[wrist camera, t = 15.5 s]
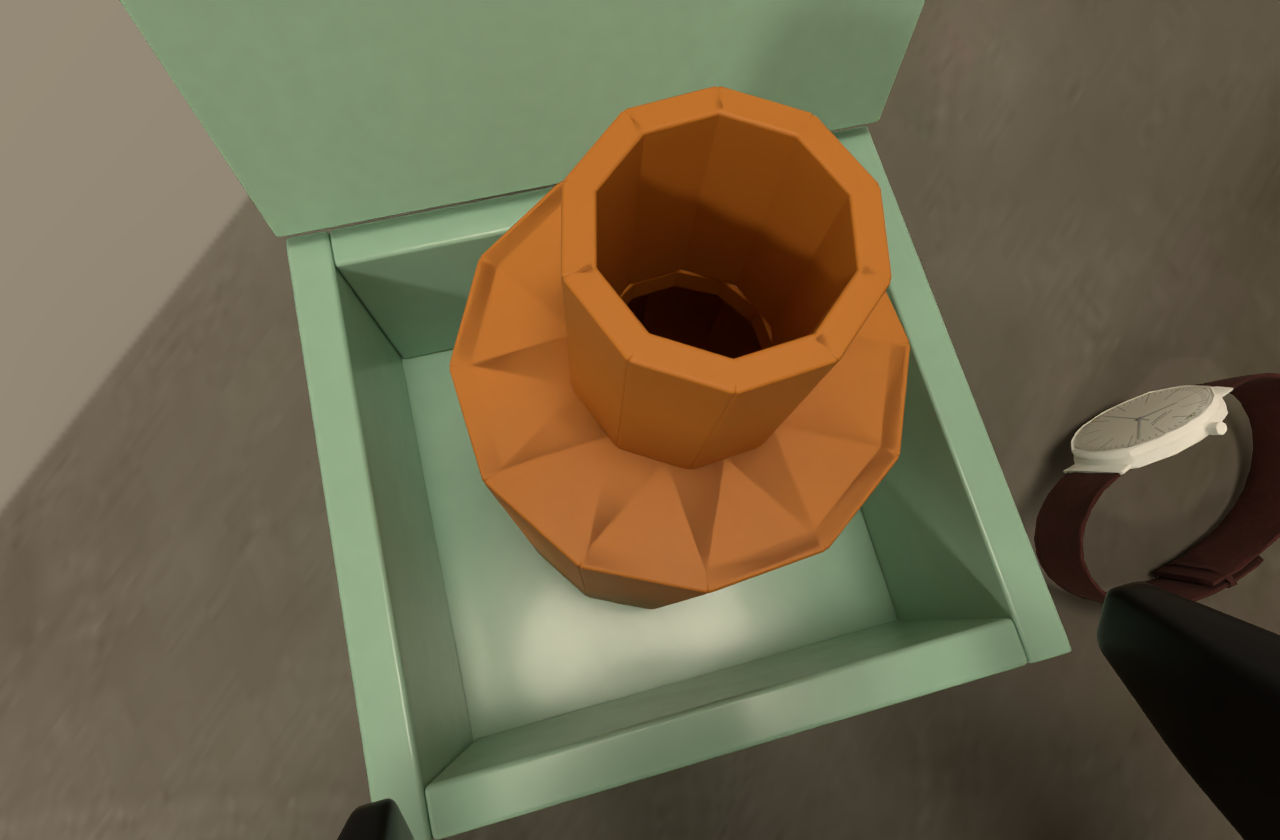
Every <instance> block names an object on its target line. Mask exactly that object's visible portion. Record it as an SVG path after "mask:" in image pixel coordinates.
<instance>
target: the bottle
mask: <svg viewBox="0 0 1280 840" xmlns="http://www.w3.org/2000/svg"><path fill="white" fill-rule="evenodd" d="M891 277H892V275H891V267H890V259H889V251H888V243H887V235H886V227H885V219H884V211H883V203H882V195H881V188H880V187H879V184H878V182H877V181H876V180H875V179H874V178H873V177H872V176H871V175H870V174H869V173H868V172H867V171H866V169H865V168H864V167H863V166H862V165H861V164H860V163H859V162H858V161H857V160H856V159H855V157H854V156H853V155H852V154H851V153H850V152H849V151H848V150H847V149H846V148H845V147H844V146H843V144H842V143H841V142H840V141H839V140H838V139H837V138H836V137H835V136H834V135H833V134H832V133H831V131H830V130H829V129H828V128H827V127H826V126H825V125H824V124H823V123H822V122H821V121H820V120H819V118H818V117H817V116H815V115H812V113H810V112H807V111H804V110H800V109H797V108H793V107H790V106H787V105H783V104H780V103H776V102H773V101H770V100H766V99H763V98H759V97H756V96H753V95H749V94H746V93H742V92H739V91H736V90H732V89H729V88H725V87H722V86H719V87H717V86H713V87H709V88H705V89H702V90H698V91H694V92H690V93H686V94H682V95H678V96H674V97H670V98H667V99H663V100H659V101H655V102H651V103H647V104H643V105H639V106H635V107H631V108H628V109H626V110H625V111H622V112H621V113H620V114H619V115H618V117H617V118H616V119H615V120H614V121H613V122H612V124H611V125H610V126H609V127H608V128H607V130H606V131H605V132H604V133H603V134H602V135H601V137H600V138H599V139H598V140H597V141H596V142H595V144H594V145H593V146H592V147H591V148H590V149H589V151H588V152H587V153H586V154H585V155H584V157H583V158H582V159H581V160H580V161H579V162H578V164H577V165H576V166H575V167H574V168H573V169H572V171H571V172H570V173H569V174H568V175H567V177H566V178H565V179H564V181H561V182H560V183H558V184H557V185H555V186H554V187H553V188H552V189H551V190H550V191H549V192H548V193H547V194H546V195H545V196H544V197H543V198H542V199H541V200H540V201H539V202H538V203H536V204H535V205H534V206H533V207H532V208H531V209H530V210H529V211H528V212H527V213H526V214H525V215H524V216H523V217H522V218H521V219H520V220H518V221H517V222H516V223H515V224H514V225H513V226H512V227H511V228H510V229H509V230H508V231H507V232H506V233H505V234H504V235H503V236H502V237H501V238H499V239H498V240H497V241H496V242H495V243H494V244H493V245H492V246H491V247H490V248H489V249H488V250H487V251H486V252H485V253H484V254H483V255H481V257H480V259H479V260H478V263H477V267H476V271H475V274H474V278H473V281H472V285H471V288H470V292H469V296H468V299H467V303H466V306H465V310H464V314H463V317H462V321H461V324H460V328H459V331H458V335H457V339H456V342H455V346H454V349H453V353H452V356H451V360H450V364H449V365H450V369H449V370H450V374H451V377H452V380H453V384H454V387H455V390H456V394H457V397H458V400H459V404H460V407H461V410H462V414H463V417H464V421H465V424H466V427H467V431H468V434H469V437H470V441H471V444H472V447H473V451H474V454H475V457H476V461H477V464H478V467H479V471H480V474H481V478H482V480H483V481H484V483H485V485H486V486H487V487H488V489H489V490H490V491H491V493H492V494H493V495H494V496H495V498H496V499H497V500H498V502H499V503H500V504H501V505H502V507H503V508H504V509H505V511H506V512H507V513H508V514H509V516H510V517H511V518H512V520H513V521H514V522H515V523H516V525H517V526H518V527H519V529H520V530H521V531H522V532H523V534H524V535H525V536H526V538H527V539H528V540H529V542H530V543H531V544H532V545H533V547H534V548H535V549H536V551H537V552H538V553H539V554H540V555H541V556H542V557H543V558H544V559H545V560H546V561H548V562H549V563H550V564H551V565H552V566H553V567H554V568H555V569H556V570H558V571H559V572H560V573H561V574H562V575H563V576H564V577H565V578H566V579H568V580H569V581H570V582H571V583H572V584H573V585H574V586H575V587H576V588H578V589H579V590H580V591H581V592H582V593H583V594H584V595H585V596H588V597H590V598H595V599H600V600H605V601H610V602H614V603H617V604H623V605H630V606H635V607H640V608H645V609H650V610H651V609H657V608H660V607H664V606H667V605H670V604H674V603H677V602H681V601H684V600H688V599H691V598H694V597H698V596H701V595H705V594H708V593H711V592H714V591H717V590H720V589H722V588H725V587H728V586H731V585H734V584H736V583H739V582H742V581H745V580H747V579H750V578H753V577H756V576H758V575H761V574H764V573H767V572H770V571H772V570H775V569H778V568H781V567H783V566H786V565H789V564H792V563H794V562H797V561H800V560H803V559H806V558H808V557H811V556H814V555H817V554H819V553H822V552H824V551H825V550H826V549H829V548H830V546H831V545H832V544H833V542H834V541H835V540H836V539H837V537H838V536H839V535H840V533H841V532H842V531H843V529H844V528H845V527H846V526H847V524H848V523H849V522H850V520H851V519H852V518H853V517H854V515H855V514H856V513H857V511H858V510H859V509H860V508H861V506H862V505H863V504H864V502H865V501H866V500H867V499H868V497H869V496H870V495H871V493H872V492H873V491H874V490H875V488H876V487H877V486H878V484H879V483H880V482H881V481H882V479H883V478H884V477H885V475H886V474H887V473H888V471H889V470H890V469H891V468H892V466H893V465H894V464H895V462H896V461H897V460H898V457H899V455H900V449H901V439H902V428H903V417H904V407H905V396H906V385H907V375H908V364H909V353H910V344H909V340H908V338H907V335H906V333H905V331H904V329H903V327H902V325H901V322H900V320H899V318H898V316H897V314H896V312H895V310H894V307H893V305H892V303H891V301H890V299H889V297H888V295H887V292H886V290H887V288H888V287H889V285H890V281H891Z"/></svg>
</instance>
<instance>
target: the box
mask: <svg viewBox="0 0 1280 840" xmlns="http://www.w3.org/2000/svg"><path fill="white" fill-rule="evenodd" d="M832 134H833V135H834V136H835V137H836V138H837V139H838V140H839V141H840V142H841V143H842V144H843V146H844V147H845V148H846V149H847V150H848V151H849V152H850V153H851V154H852V155H853V156H854V157H855V159H856V160H857V161H858V162H859V163H860V164H861V165H862V166H863V167H864V168H865V169H866V171H867V172H868V173H869V174H870V175H871V176H872V177H873V178H874V179H875V180H876V181H877V182H878V184H879V187H880V188H881V195H882V203H883V211H884V219H885V227H886V235H887V243H888V251H889V259H890V267H891V275H892V277H891V281H890V285H889V287H888V288H887V290H886V292H887V295H888V297H889V299H890V301H891V303H892V305H893V307H894V310H895V312H896V314H897V316H898V318H899V320H900V322H901V325H902V327H903V329H904V331H905V333H906V335H907V338H908V340H909V344H910V353H909V364H908V375H907V385H906V396H905V407H904V417H903V428H902V439H901V449H900V455H899V457H898V460H897V461H896V462H895V464H894V465H893V466H892V468H891V469H890V470H889V471H888V473H887V474H886V475H885V477H884V478H883V479H882V481H881V482H880V483H879V484H878V486H877V487H876V488H875V490H874V491H873V492H872V493H871V495H870V496H869V497H868V499H867V500H866V501H865V502H864V504H863V505H862V506H861V508H860V509H859V510H858V511H857V513H856V514H855V515H854V517H853V518H852V519H851V520H850V522H849V523H848V524H847V526H846V527H845V528H844V529H843V531H842V532H841V533H840V535H839V536H838V537H837V539H836V540H835V541H834V542H833V544H832V545H831V546H830V548H829V549H826V550H825V551H824V552H822V553H819V554H817V555H814V556H811V557H808V558H806V559H803V560H800V561H797V562H794V563H792V564H789V565H786V566H783V567H781V568H778V569H775V570H772V571H770V572H767V573H764V574H761V575H758V576H756V577H753V578H750V579H747V580H745V581H742V582H739V583H736V584H734V585H731V586H728V587H725V588H722V589H720V590H717V591H714V592H711V593H708V594H705V595H701V596H698V597H694V598H691V599H688V600H684V601H681V602H677V603H674V604H670V605H667V606H664V607H660V608H657V609H651V610H650V609H645V608H640V607H635V606H630V605H623V604H617V603H614V602H610V601H605V600H600V599H595V598H590V597H588V596H585V595H584V594H583V593H582V592H581V591H580V590H579V589H578V588H576V587H575V586H574V585H573V584H572V583H571V582H570V581H569V580H568V579H566V578H565V577H564V576H563V575H562V574H561V573H560V572H559V571H558V570H556V569H555V568H554V567H553V566H552V565H551V564H550V563H549V562H548V561H546V560H545V559H544V558H543V557H542V556H541V555H540V554H539V553H538V552H537V551H536V549H535V548H534V547H533V545H532V544H531V543H530V542H529V540H528V539H527V538H526V536H525V535H524V534H523V532H522V531H521V530H520V529H519V527H518V526H517V525H516V523H515V522H514V521H513V520H512V518H511V517H510V516H509V514H508V513H507V512H506V511H505V509H504V508H503V507H502V505H501V504H500V503H499V502H498V500H497V499H496V498H495V496H494V495H493V494H492V493H491V491H490V490H489V489H488V487H487V486H486V485H485V483H484V481H483V480H482V478H481V474H480V471H479V467H478V464H477V461H476V457H475V454H474V451H473V447H472V444H471V441H470V437H469V434H468V431H467V427H466V424H465V421H464V417H463V414H462V410H461V407H460V404H459V400H458V397H457V394H456V390H455V387H454V384H453V380H452V377H451V374H450V370H449V369H450V365H449V364H450V360H451V356H452V353H453V349H454V346H455V342H456V339H457V335H458V331H459V328H460V324H461V321H462V317H463V314H464V310H465V306H466V303H467V299H468V296H469V292H470V288H471V285H472V281H473V278H474V274H475V271H476V267H477V263H478V260H479V259H480V257H481V255H483V254H484V253H485V252H486V251H487V250H488V249H489V248H490V247H491V246H492V245H493V244H494V243H495V242H496V241H497V240H498V239H499V238H501V237H502V236H503V235H504V234H505V233H506V232H507V231H508V230H509V229H510V228H511V227H512V226H513V225H514V224H515V223H516V222H517V221H518V220H520V219H521V218H522V217H523V216H524V215H525V214H526V213H527V212H528V211H529V210H530V209H531V208H532V207H533V206H534V205H535V204H536V203H538V202H539V201H540V200H541V199H542V198H543V197H544V196H545V195H546V194H547V193H548V192H549V191H550V190H551V189H552V188H553V187H548V188H543V189H538V190H533V191H528V192H523V193H517V194H512V195H507V196H502V197H497V198H492V199H486V200H481V201H476V202H471V203H466V204H460V205H455V206H450V207H445V208H440V209H435V210H429V211H424V212H419V213H414V214H409V215H404V216H398V217H393V218H388V219H383V220H378V221H372V222H367V223H362V224H357V225H352V226H347V227H341V228H336V229H332V230H331V231H330V234H329V233H328V232H327V231H321V232H315V233H310V234H305V235H300V236H295V237H290V238H287V239H286V248H287V254H288V261H289V267H290V274H291V280H292V287H293V293H294V300H295V307H296V313H297V320H298V326H299V333H300V339H301V346H302V352H303V359H304V365H305V372H306V379H307V385H308V392H309V398H310V405H311V411H312V418H313V424H314V431H315V437H316V444H317V451H318V457H319V464H320V470H321V477H322V483H323V490H324V496H325V503H326V510H327V516H328V523H329V529H330V536H331V542H332V549H333V555H334V562H335V568H336V575H337V582H338V588H339V595H340V601H341V608H342V614H343V621H344V627H345V634H346V641H347V647H348V654H349V660H350V667H351V673H352V680H353V686H354V693H355V699H356V706H357V713H358V719H359V726H360V732H361V739H362V745H363V752H364V758H365V765H366V772H367V778H368V785H369V791H370V798H371V803H372V802H375V801H379V800H382V799H386V798H390V799H392V800H394V801H395V802H396V804H397V805H398V807H399V809H400V811H401V813H402V815H403V817H404V819H405V821H406V823H407V825H408V827H409V829H410V831H411V833H412V835H413V837H414V839H415V840H432V838H434V839H437V840H440V839H444V838H447V837H450V836H454V835H457V834H461V833H464V832H467V831H471V830H474V829H477V828H481V827H484V826H487V825H491V824H494V823H497V822H501V821H504V820H508V819H511V818H514V817H518V816H521V815H524V814H528V813H531V812H534V811H538V810H541V809H544V808H548V807H551V806H555V805H558V804H561V803H565V802H568V801H571V800H575V799H578V798H581V797H585V796H588V795H592V794H595V793H598V792H602V791H605V790H608V789H612V788H615V787H618V786H622V785H625V784H628V783H632V782H635V781H639V780H642V779H645V778H649V777H652V776H655V775H659V774H662V773H665V772H669V771H672V770H675V769H679V768H682V767H686V766H689V765H692V764H696V763H699V762H702V761H706V760H709V759H712V758H716V757H719V756H722V755H726V754H729V753H733V752H736V751H739V750H743V749H746V748H749V747H753V746H756V745H759V744H763V743H766V742H769V741H773V740H776V739H780V738H783V737H786V736H790V735H793V734H796V733H800V732H803V731H806V730H810V729H813V728H816V727H820V726H823V725H827V724H830V723H833V722H837V721H840V720H843V719H847V718H850V717H853V716H857V715H860V714H863V713H867V712H870V711H874V710H877V709H880V708H884V707H887V706H890V705H894V704H897V703H900V702H904V701H907V700H910V699H914V698H917V697H921V696H924V695H927V694H931V693H934V692H937V691H941V690H944V689H947V688H951V687H954V686H958V685H961V684H964V683H968V682H971V681H974V680H978V679H981V678H984V677H988V676H991V675H994V674H998V673H1001V672H1005V671H1008V670H1011V669H1015V668H1018V667H1021V666H1024V665H1025V664H1026V663H1036V662H1039V661H1043V660H1046V659H1049V658H1053V657H1056V656H1059V655H1063V654H1066V653H1069V652H1070V651H1071V646H1070V643H1069V641H1068V638H1067V636H1066V633H1065V631H1064V628H1063V625H1062V623H1061V620H1060V618H1059V615H1058V613H1057V610H1056V608H1055V605H1054V602H1053V600H1052V597H1051V595H1050V592H1049V590H1048V587H1047V585H1046V582H1045V579H1044V577H1043V574H1042V572H1041V569H1040V567H1039V564H1038V562H1037V559H1036V556H1035V554H1034V551H1033V549H1032V546H1031V544H1030V541H1029V539H1028V536H1027V533H1026V531H1025V528H1024V526H1023V523H1022V521H1021V518H1020V516H1019V513H1018V510H1017V508H1016V505H1015V503H1014V500H1013V498H1012V495H1011V493H1010V490H1009V487H1008V485H1007V482H1006V480H1005V477H1004V475H1003V472H1002V470H1001V467H1000V464H999V462H998V459H997V457H996V454H995V452H994V449H993V447H992V444H991V441H990V439H989V436H988V434H987V431H986V429H985V426H984V424H983V421H982V418H981V416H980V413H979V411H978V408H977V406H976V403H975V401H974V398H973V396H972V393H971V390H970V388H969V385H968V383H967V380H966V378H965V375H964V373H963V370H962V367H961V365H960V362H959V360H958V357H957V355H956V352H955V350H954V347H953V344H952V342H951V339H950V337H949V334H948V332H947V329H946V327H945V324H944V321H943V319H942V316H941V314H940V311H939V309H938V306H937V304H936V301H935V298H934V296H933V293H932V291H931V288H930V286H929V283H928V281H927V278H926V275H925V273H924V270H923V268H922V265H921V263H920V260H919V258H918V255H917V252H916V250H915V247H914V245H913V242H912V240H911V237H910V235H909V232H908V229H907V227H906V224H905V222H904V219H903V217H902V214H901V212H900V209H899V206H898V204H897V201H896V199H895V196H894V194H893V191H892V189H891V186H890V184H889V181H888V178H887V176H886V173H885V171H884V168H883V166H882V163H881V161H880V158H879V155H878V153H877V150H876V148H875V145H874V143H873V140H872V138H871V135H870V132H869V130H868V127H867V126H862V127H856V128H851V129H846V130H841V131H836V132H833V133H832Z"/></svg>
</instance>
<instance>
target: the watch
mask: <svg viewBox="0 0 1280 840" xmlns="http://www.w3.org/2000/svg"><path fill="white" fill-rule="evenodd" d="M1228 393H1231V394H1233V395H1234V396H1235V397H1236V398H1237V399H1238V400H1239V401H1240V402H1241V404H1242V406H1243V408H1244V410H1245V412H1246V413H1247V415H1248V417H1249V420H1250V424H1251V428H1252V435H1253V454H1252V461H1251V468H1250V471H1249V474H1248V477H1247V480H1246V483H1245V486H1244V489H1243V491H1242V493H1241V495H1240V497H1239V498H1238V500H1237V502H1236V504H1235V506H1234V507H1233V508H1232V509H1231V511H1230V512H1229V513H1228V515H1227V516H1226V517H1225V519H1224V520H1223V521H1222V523H1221V524H1220V525H1219V526H1218V527H1217V528H1216V529H1215V530H1214V531H1213V532H1212V533H1210V534H1209V535H1208V536H1207V537H1206V538H1204V539H1203V540H1202V541H1201V542H1200V543H1198V544H1197V545H1196V546H1195V547H1194V548H1192V549H1191V550H1190V551H1189V552H1188V553H1187V554H1185V555H1184V556H1183V557H1181V558H1178V559H1176V560H1175V561H1173V562H1171V563H1169V564H1167V565H1165V566H1164V567H1162V568H1160V569H1159V570H1157V571H1155V572H1154V574H1155V576H1159V577H1157V578H1155V579H1152V580H1150V581H1148V582H1146V583H1149V584H1152V585H1154V586H1157V587H1159V588H1162V589H1164V590H1167V591H1169V592H1172V593H1174V594H1177V595H1180V596H1182V597H1185V598H1187V599H1190V600H1192V601H1197V600H1200V599H1203V598H1205V597H1208V596H1211V595H1213V594H1215V593H1217V592H1219V591H1221V590H1223V589H1225V588H1230V587H1232V586H1234V585H1237V583H1236V581H1238V580H1239V579H1241V578H1242V577H1243V576H1245V575H1246V574H1248V573H1249V572H1251V571H1252V570H1253V569H1255V568H1256V567H1258V566H1259V565H1260V564H1261V563H1262V562H1263V559H1262V558H1261V557H1260V556H1259V554H1260V553H1262V552H1263V551H1264V550H1265V549H1266V548H1268V547H1269V546H1270V545H1271V544H1272V543H1273V542H1275V541H1276V540H1277V539H1278V538H1279V537H1280V374H1275V373H1263V374H1255V375H1247V376H1240V377H1235V378H1229V379H1224V380H1218V381H1213V382H1209V383H1204V384H1198V385H1184V386H1177V387H1172V388H1167V389H1162V390H1157V391H1152V392H1148V393H1146V394H1143V395H1141V396H1138V397H1135V398H1133V399H1130V400H1128V401H1125V402H1123V403H1121V404H1119V405H1117V406H1115V407H1112V408H1110V409H1108V410H1106V411H1104V412H1102V413H1101V414H1099V415H1098V416H1096V417H1095V418H1093V419H1092V420H1090V421H1089V422H1087V423H1086V424H1084V425H1083V426H1082V427H1081V428H1080V429H1079V430H1078V431H1077V432H1076V433H1075V435H1074V437H1073V439H1072V441H1071V450H1072V453H1073V454H1074V459H1073V460H1074V463H1075V464H1074V465H1072V466H1071V467H1069V468H1067V469H1066V470H1064V471H1063V472H1064V473H1065V475H1064V476H1063V477H1062V478H1061V479H1060V480H1059V481H1058V483H1057V484H1056V485H1055V487H1054V488H1053V489H1052V490H1051V492H1050V493H1049V494H1048V496H1047V498H1046V500H1045V501H1044V503H1043V505H1042V508H1041V510H1040V512H1039V514H1038V517H1037V521H1036V528H1035V536H1034V541H1035V547H1036V554H1037V557H1038V559H1039V562H1040V564H1041V566H1042V568H1043V569H1044V571H1045V572H1046V574H1047V575H1048V577H1049V578H1050V579H1052V580H1053V581H1054V582H1055V583H1056V584H1057V585H1059V586H1060V587H1061V588H1063V589H1064V590H1066V591H1067V592H1069V593H1071V594H1074V595H1077V596H1079V597H1082V598H1084V599H1091V600H1093V601H1097V602H1101V603H1104V600H1105V596H1106V594H1107V593H1106V592H1104V591H1103V590H1102V589H1101V588H1100V587H1099V586H1098V585H1097V583H1096V582H1095V581H1094V580H1093V578H1092V577H1091V575H1090V573H1089V570H1088V568H1087V566H1086V563H1085V561H1084V553H1083V536H1084V531H1085V526H1086V523H1087V520H1088V517H1089V515H1090V512H1091V509H1092V508H1093V506H1094V505H1095V503H1096V502H1097V500H1098V499H1099V497H1100V496H1101V494H1102V493H1103V492H1104V490H1105V489H1106V488H1107V487H1109V486H1110V485H1111V484H1112V483H1113V482H1114V481H1115V480H1116V479H1117V478H1118V477H1120V476H1121V475H1122V474H1124V473H1125V472H1126V471H1127V470H1129V469H1133V468H1140V467H1142V466H1145V465H1148V464H1150V463H1153V462H1156V461H1159V460H1161V459H1164V458H1167V457H1170V456H1172V455H1175V454H1177V453H1179V452H1181V451H1183V450H1185V449H1186V448H1188V447H1190V446H1192V445H1194V444H1196V443H1198V442H1200V441H1201V440H1203V439H1204V438H1205V437H1207V436H1208V435H1209V434H1211V435H1224V434H1225V432H1226V431H1227V426H1226V424H1225V423H1223V422H1222V421H1223V420H1224V418H1225V417H1226V415H1227V414H1228V411H1227V407H1226V404H1225V402H1224V400H1223V398H1222V397H1223V396H1225V395H1226V394H1228Z"/></svg>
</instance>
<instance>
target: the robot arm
mask: <svg viewBox="0 0 1280 840" xmlns="http://www.w3.org/2000/svg"><path fill="white" fill-rule="evenodd" d="M1097 641H1098V644H1099V647H1100V649H1101V651H1102V653H1103V654H1104V656H1105V657H1106V659H1107V660H1108V662H1109V663H1110V665H1111V666H1112V667H1113V669H1114V670H1115V672H1116V673H1117V675H1118V676H1119V677H1120V679H1121V680H1122V682H1123V683H1124V685H1125V686H1126V687H1127V689H1128V690H1129V692H1130V693H1131V695H1132V696H1133V697H1134V699H1135V700H1136V702H1137V703H1138V705H1139V706H1140V707H1141V709H1142V710H1143V712H1144V713H1145V714H1146V716H1147V717H1148V719H1149V720H1150V722H1151V723H1152V724H1153V726H1154V727H1155V729H1156V730H1157V732H1158V733H1159V734H1160V736H1161V737H1162V739H1163V740H1164V742H1165V743H1166V744H1167V746H1168V747H1169V748H1170V750H1171V751H1172V753H1173V754H1174V755H1175V757H1176V758H1177V759H1178V761H1179V762H1180V763H1181V764H1182V766H1183V767H1184V768H1185V769H1186V771H1187V772H1188V773H1189V774H1190V776H1191V777H1192V778H1193V779H1194V781H1195V782H1196V783H1197V784H1198V785H1199V787H1200V788H1201V789H1202V790H1203V791H1204V793H1205V794H1206V795H1207V796H1208V797H1209V798H1210V800H1211V801H1212V802H1213V803H1214V804H1215V806H1216V807H1217V808H1218V809H1219V810H1220V812H1221V813H1222V814H1223V815H1224V816H1225V818H1226V819H1227V820H1228V821H1229V822H1230V823H1231V825H1232V826H1233V827H1234V828H1235V829H1236V831H1237V832H1238V833H1239V834H1240V835H1241V837H1242V838H1243V839H1244V840H1280V635H1278V634H1275V633H1273V632H1270V631H1268V630H1265V629H1263V628H1260V627H1257V626H1255V625H1252V624H1250V623H1247V622H1245V621H1242V620H1240V619H1237V618H1235V617H1232V616H1230V615H1227V614H1225V613H1222V612H1220V611H1217V610H1215V609H1212V608H1210V607H1207V606H1205V605H1202V604H1200V603H1197V602H1195V601H1192V600H1190V599H1187V598H1185V597H1182V596H1180V595H1177V594H1174V593H1172V592H1169V591H1167V590H1164V589H1162V588H1159V587H1157V586H1154V585H1152V584H1149V583H1146V582H1132V583H1129V584H1125V585H1122V586H1118V587H1115V588H1112V589H1110V590H1109V591H1108V592H1107V594H1106V596H1105V600H1104V604H1103V608H1102V612H1101V616H1100V621H1099V625H1098V629H1097ZM337 840H415V839H414V837H413V835H412V833H411V831H410V829H409V827H408V825H407V823H406V821H405V819H404V817H403V815H402V813H401V811H400V809H399V807H398V805H397V804H396V802H395V801H394V800H392V799H390V798H386V799H382V800H379V801H375V802H372V803H369V804H365V805H362V806H359V807H358V808H356V809H355V810H354V811H353V812H352V814H351V815H350V817H349V818H348V820H347V822H346V824H345V826H344V828H343V830H342V832H341V834H340V835H339V837H338V839H337Z"/></svg>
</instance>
